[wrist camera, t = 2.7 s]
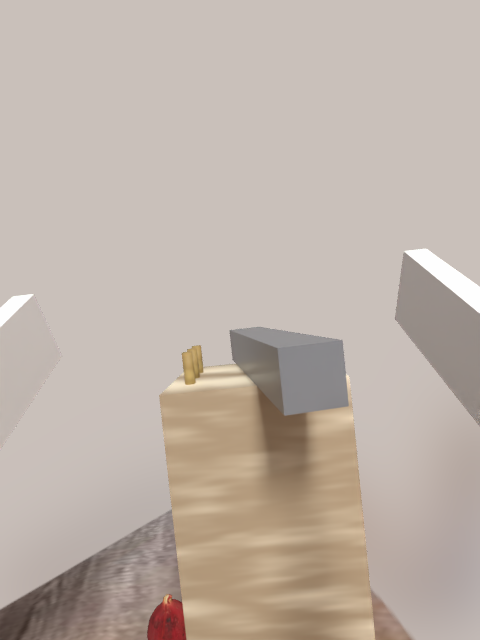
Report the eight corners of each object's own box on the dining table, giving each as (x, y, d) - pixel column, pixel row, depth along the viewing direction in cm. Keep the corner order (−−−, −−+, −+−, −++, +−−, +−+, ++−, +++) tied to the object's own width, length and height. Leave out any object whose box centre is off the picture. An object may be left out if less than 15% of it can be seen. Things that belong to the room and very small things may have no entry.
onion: (194, 673, 45) (188, 610, 45) (148, 683, 44) (140, 620, 44) (195, 632, 51) (188, 576, 50) (153, 641, 50) (147, 585, 50)
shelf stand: (220, 667, 45) (184, 344, 44) (347, 657, 45) (314, 331, 44) (207, 827, 31) (155, 360, 30) (392, 815, 31) (345, 340, 30)
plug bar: (232, 359, 48) (229, 330, 48) (262, 356, 48) (259, 326, 48) (284, 415, 21) (277, 347, 21) (349, 406, 22) (342, 340, 21)
